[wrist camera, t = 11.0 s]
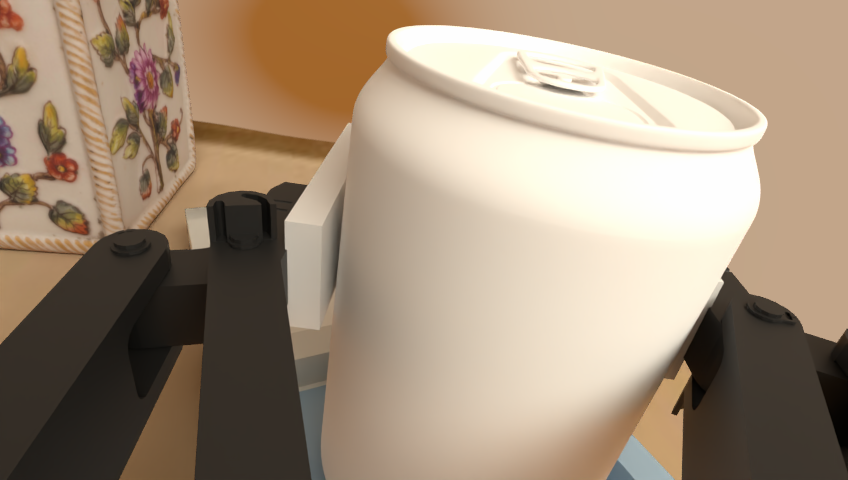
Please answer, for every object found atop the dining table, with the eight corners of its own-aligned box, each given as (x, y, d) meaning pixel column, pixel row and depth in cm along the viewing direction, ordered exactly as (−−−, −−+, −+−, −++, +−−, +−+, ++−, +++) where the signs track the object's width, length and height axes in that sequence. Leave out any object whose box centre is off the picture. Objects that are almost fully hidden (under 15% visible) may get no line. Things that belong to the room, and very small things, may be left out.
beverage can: (273, 552, 13) (287, 60, 7) (361, 341, 20) (407, 7, 14) (593, 641, 12) (925, 197, 6) (568, 393, 19) (711, 70, 13)
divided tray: (189, 242, 27) (184, 208, 26) (397, 217, 32) (400, 188, 31) (299, 856, 10) (300, 826, 9) (709, 586, 15) (739, 548, 14)
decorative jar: (126, 264, 25) (24, -223, 16) (-143, 247, 23) (-427, -298, 14) (202, 168, 35) (167, -161, 26) (18, 152, 33) (-86, -200, 24)
